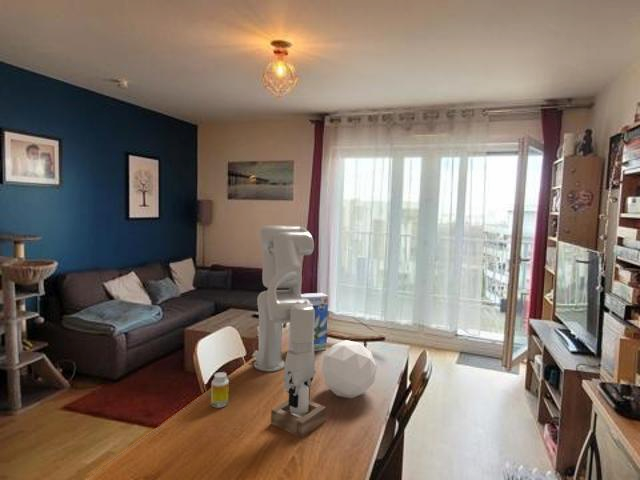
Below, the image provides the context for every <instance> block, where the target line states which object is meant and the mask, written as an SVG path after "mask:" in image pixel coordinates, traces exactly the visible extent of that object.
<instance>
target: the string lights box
mask: <svg viewBox="0 0 640 480" xmlns="http://www.w3.org/2000/svg"><path fill="white" fill-rule="evenodd" d="M301 299H308V300H309V301H310V302H311V303H312V305H313V308H314V309H315V323H314V348H313V349H314V352H316V351H317V352H319V351H326V350H327V334H328V333H327V330H328V313H329V312H328V311H329V310H328V309H329V308H328V307H329V295H328V294H325V293H323V292H314V293H312V292H311V293H309V292H308V293H307V292H306V293H301Z"/></svg>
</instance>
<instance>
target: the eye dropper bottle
mask: <svg viewBox="0 0 640 480" xmlns="http://www.w3.org/2000/svg"><path fill="white" fill-rule="evenodd" d="M294 388H295V387H294V386H292V389H293V390H294ZM297 395H298V407H297V408H294V407H292V406H290V412H291V413H294V414H303V413H307V412H308V404H309V401H310V399H309V388H308V386H307V385H304V383H302V384H300V385H299V387H298V392H297Z"/></svg>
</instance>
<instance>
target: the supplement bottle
mask: <svg viewBox="0 0 640 480" xmlns="http://www.w3.org/2000/svg"><path fill="white" fill-rule="evenodd" d="M213 376H214V377H213V380H212V381H211V389H210V390H211V391H210V392H211V393H210V394H211V397H210V402H211V403H210V404H211V406H212V407H214V408H217V409H220V408H225V407H226V406H228V404H229V399H230V398H229V397H230V395H229V392H230V390H229V388H230V386H229V385H230V381H229V379H228V375H227V373H226V372H224V371H222V372H220V371H219V372H216V373H214V375H213Z"/></svg>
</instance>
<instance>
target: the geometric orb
mask: <svg viewBox="0 0 640 480" xmlns="http://www.w3.org/2000/svg"><path fill="white" fill-rule="evenodd" d="M321 373H322V377H323V379H324V380H323V381H324V384H325V386H326V387H327V388H328V389H330V391H332V393H334V394H335V395H336V396H338V397H342V398H349V399H353V398H355V397H358V396H360V395H363V394H365V393H366V392H367V391H368V390H369V389H370V387H371V386H372V385H373V384H374V383H375V379H376V374H377V364H376V361H375V358H374V356H373V353H372V351H370V350H369V349H368V348H366V347H365V346H364V345H363V344H361V343H360V342H357V341H353V340H352V341H351V340H350V339H349V340H348V339H345V340H343V341H340V342H338V343H335V344H333V345H332V346H331V347H330V348H329V349H328V350H327V352H326V353H325V354H324V355H323V356H322V365H321Z"/></svg>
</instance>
